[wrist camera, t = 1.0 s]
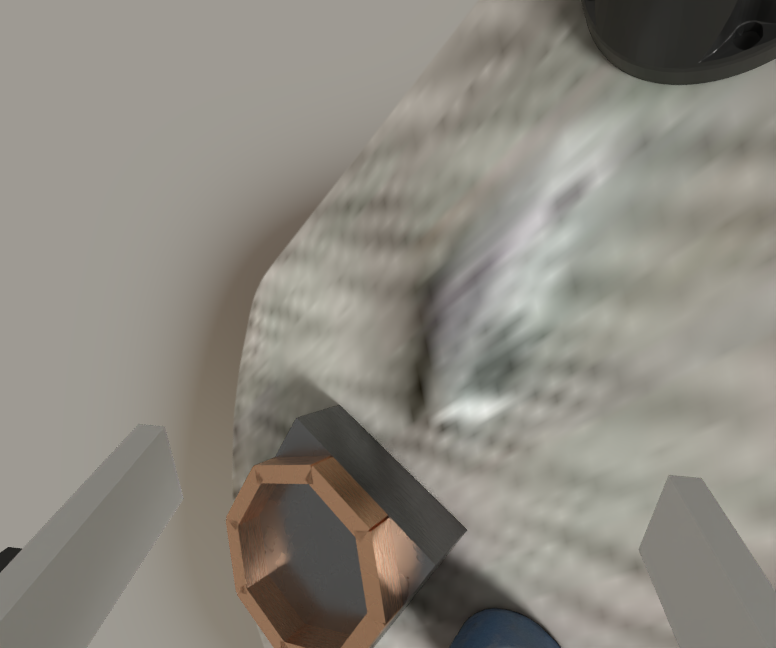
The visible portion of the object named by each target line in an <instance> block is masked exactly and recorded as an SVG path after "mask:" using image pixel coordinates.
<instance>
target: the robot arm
mask: <svg viewBox="0 0 776 648" xmlns="http://www.w3.org/2000/svg"><path fill="white" fill-rule="evenodd" d="M581 2H582V7H583V11H584V14H585V17H586V21H587V24H588V28H589V31H590V33H591V36H592V38H593V40H594V42H595V44H596V45H597V47H598V48H599V50H600V51H601V52H602V53H603V55H604V56H605V57H606V58H607V59H608V60H609V61H610V62H611V63H613V64H614V65H615V66H616V67H618V68H619V69H621V70H622V71H624V72H626V73H628V74H630V75H632V76H635V77H637V78H640V79H643V80H646V81H650V82H655V83H661V84H671V85H688V84H699V83H707V82H712V81H717V80H721V79H725V78H729V77H732V76H735V75H739V74H741V73H744V72H747V71H749V70H752V69H754V68H757V67H759V66H761V65H763V64H765V63H768V62H770V61H772V60H774V59H775V58H776V0H581ZM182 500H183V495H182V491H181V487H180V483H179V479H178V475H177V471H176V468H175V464H174V460H173V456H172V452H171V448H170V444H169V441H168V437H167V433H166V429H165V427H164V426H153V425H143V424H138V425H137V426H136V428H134V430H133V431H132V432H131V433H130V434H129V435H128V436H127V437H126V438H125V439H124V440H123V441H122V443H121V444H120V445H119V446H118V447H117V448H116V449H115V450H114V451H113V452H112V453H111V454H110V455H109V457H108V458H107V459H106V460H105V461H104V462H103V463H102V464H101V465H100V466H99V467H98V468H97V469H96V470H95V472H94V473H93V474H92V475H91V476H90V477H89V478H88V479H87V480H86V481H85V482H84V484H82V485H81V487H80V488H79V489H78V490H77V491H76V492H75V493H74V494H73V495H72V497H70V498H69V499H68V501H67V502H66V503H65V504H64V505H63V506H62V507H61V508H60V509H59V510H58V511H57V512H56V513H55V515H54V516H53V517H52V518H51V519H50V520H49V521H48V522H47V523H46V524H45V525H44V526H43V527H42V529H41V530H40V531H39V532H38V533H37V534H36V535H35V536H34V537H33V538H32V539H31V540H30V541H29V542H28V544H27V545H26V546H25V547H24V548H23V549H20V548H12V547H8V548H6V549H5V550H4V551H2V552H1V553H0V648H87V647H88V645H89V644H90V642H91V640H92V639H93V637H94V636H95V634H96V633H97V631H98V630H99V628H100V627H101V625H102V624H103V622H104V620H105V619H106V617H107V616H108V614H109V613H110V611H111V610H112V608H113V607H114V605H115V603H116V602H117V600H118V599H119V597H120V596H121V594H122V593H123V591H124V590H125V588H126V586H127V585H128V583H129V582H130V580H131V579H132V577H133V576H134V574H135V573H136V571H137V569H138V568H139V566H140V565H141V563H142V562H143V560H144V559H145V557H146V556H147V554H148V553H149V551H150V550H151V548H152V546H153V545H154V543H155V542H156V540H157V539H158V537H159V536H160V534H161V533H162V531H163V529H164V528H165V526H166V525H167V523H168V522H169V520H170V519H171V517H172V516H173V514H174V513H175V511H176V509H177V508H178V506H179V505H180V503H181V502H182ZM639 551H640V554H641V556H642V559H643V561H644V563H645V566H646V568H647V571H648V573H649V575H650V578H651V580H652V583H653V585H654V587H655V590H656V592H657V595H658V597H659V599H660V602H661V604H662V607H663V609H664V611H665V614H666V616H667V619H668V621H669V623H670V626H671V628H672V631H673V633H674V635H675V638H676V640H677V643H678V645H679V647H680V648H776V591H775V589H774V588H773V586H772V585H771V583H770V582H769V580H768V579H767V577H766V575H765V574H764V572H763V571H762V569H761V568H760V566H759V565H758V563H757V562H756V560H755V559H754V557H753V556H752V554H751V553H750V551H749V550H748V548H747V547H746V545H745V544H744V542H743V540H742V539H741V537H740V536H739V534H738V533H737V531H736V530H735V528H734V527H733V525H732V524H731V522H730V521H729V519H728V518H727V516H726V515H725V513H724V512H723V510H722V508H721V507H720V505H719V504H718V502H717V501H716V499H715V498H714V496H713V495H712V493H711V492H710V490H709V489H708V487H707V486H706V484H705V483H704V481H703V480H702V478H694V477H684V476H673V475H669V476H668V478H667V481H666V483H665V486H664V488H663V491H662V493H661V495H660V498H659V500H658V503H657V505H656V508H655V510H654V513H653V515H652V518H651V520H650V523H649V525H648V528H647V530H646V532H645V535H644V537H643V540H642V542H641V545H640V547H639Z"/></svg>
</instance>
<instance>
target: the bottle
mask: <svg viewBox="0 0 776 648" xmlns="http://www.w3.org/2000/svg"><path fill="white" fill-rule="evenodd" d="M449 648H560V646H559V645H558V644H557V643H556V642H555V641H554V640H553V639H552V638H551V637H550V636H549V635H548V634H547V633H546V632H545V631H544V630H543V629H542V628H541V627H540V626H539V625H538V624H537V623H535V622H534V621H532V620H530V619H529V618H527V617H525V616H524V615H521V614H519V613H517V612H513V611H509V610H504V609H495V608H493V609H486V610H483V611H481V612H478V613H476V614H474V615H473V616H472V617H470V618H469V619H468V620H467V621H466V622H465V623H464V625H463V626H462V628H461V629H460V631H459V633H458V635H456V637H455V639H454V640H453V642H452V644H451V645H450V647H449Z"/></svg>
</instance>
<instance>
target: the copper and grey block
mask: <svg viewBox="0 0 776 648" xmlns="http://www.w3.org/2000/svg"><path fill="white" fill-rule="evenodd" d="M226 518H227V519H226V525H227V532H228V539H229V546H230V552H231V560H232V566H233V574H234V580H235V588H236V592H237V593H238V594H237V595H238V597H239V598H240V600H241V601H242V603H243V604H244V605H245V607H246V608H247V610H248V611H249V613H250V614H251V615H252V617H253V618H254V620H255V621H256V623H257V624H258V626H259V627H260V629H261V630H262V631H263V633H264V634H265V636H266V637H267V639H268V640H269V641H270V643H271V644H272V646H273V647H274V648H374V646H375V645H376V644H377V643H378V642H379V640H380V639H381V638H382V637H383V635H384V634H385V633H386V632H387V630H388V629H389V628H390V626H391V625H392V624H393V623H394V621H395V620H396V619H397V618H398V616H399V615H400V614H401V613H402V611H403V610H404V609H405V608H406V606H407V605H408V604H409V603H410V601H411V600H412V599H413V598H414V596H415V595H416V594H417V592H418V591H419V590H420V589H421V587H422V586H423V585H424V584H425V582H426V581H427V580H428V579H429V577H430V576H431V575H432V574H433V572H434V571H435V570H436V569H437V567H438V566H439V565H440V563H441V562H442V561H443V560H444V558H445V557H446V556H447V555H448V553H449V552H450V551H451V550H452V548H453V547H454V546H455V545H456V543H457V542H458V541H459V540H460V538H461V537H462V536H463V535H464V533H465V532H466V531H467V530H466V529H465V528H464V527H463V526H462V525H461V524H460V523H459V522H458V521H457V520H456V519H455V518H454V517H453V516H452V515H451V514H450V513H449V512H448V511H447V510H446V509H445V508H444V507H443V506H442V505H441V504H440V503H439V502H438V501H437V500H436V499H435V498H434V497H433V496H432V495H431V494H430V493H429V492H428V491H427V490H426V489H425V488H424V487H423V486H422V485H421V484H420V483H419V482H417V481H416V480H415V479H414V478H413V477H412V476H411V475H410V474H409V473H408V472H407V471H406V470H405V469H404V468H403V467H402V466H401V465H400V464H399V463H398V462H397V461H396V460H395V459H394V458H393V457H392V456H391V455H390V454H389V453H388V452H387V451H386V450H385V449H384V448H383V447H382V446H381V445H380V444H379V443H378V442H377V441H376V440H375V439H374V438H373V437H372V436H371V435H370V434H369V433H368V432H366V431H365V430H364V429H363V428H362V427H361V426H360V425H359V424H358V423H357V422H356V421H355V420H354V419H353V418H352V417H351V416H350V415H349V414H348V413H347V412H346V411H345V410H344V409H343V408H342V407H341V406H340V405H337V406H334V407H331V408H327V409H324V410H321V411H318V412H314V413H311V414H308V415H304V416H301V417H298V418H296V420H295V421H294V423H293V425H292V427H291V429H290V431H289V432H288V434H287V436H286V438H285V440H284V442H283V443H282V445H281V447H280V449H279V451H278V453H277V454H276V456H275V458H272V459H270V460H267V461H264V462H262V463H259V464H257V465H254V466H253V467H252V469H251V471H250V473H249V475H248V477H247V479H246V480H245V482H244V484H243V486H242V488H241V490H240V492H239V494H238V496H237V498H236V499H235V501H234V503H233V505H232V507H231V509H230V511H229V513H228V515H227V517H226Z"/></svg>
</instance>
